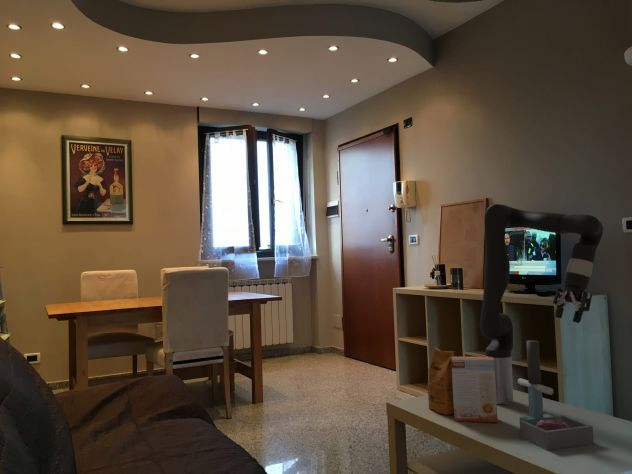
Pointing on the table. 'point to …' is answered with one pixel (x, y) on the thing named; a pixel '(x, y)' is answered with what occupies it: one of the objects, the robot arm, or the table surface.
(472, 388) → the cracker box
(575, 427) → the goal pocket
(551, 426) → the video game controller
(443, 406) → the coffee package
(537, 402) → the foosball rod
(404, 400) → the table surface
